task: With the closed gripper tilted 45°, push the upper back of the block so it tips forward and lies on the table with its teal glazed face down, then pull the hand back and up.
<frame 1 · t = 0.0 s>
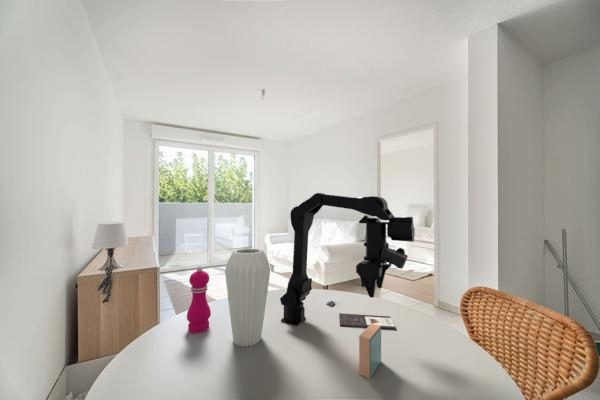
hand: (375, 292, 75), 15 cm above the table, tool pointing down, fingers open, 9 cm apart
chocolate bar: (365, 323, 88), on the table
block: (370, 367, 64), on the table
vase: (247, 340, 76), on the table
pepper mill: (198, 329, 83), on the table
blueberries: (332, 306, 103), on the table
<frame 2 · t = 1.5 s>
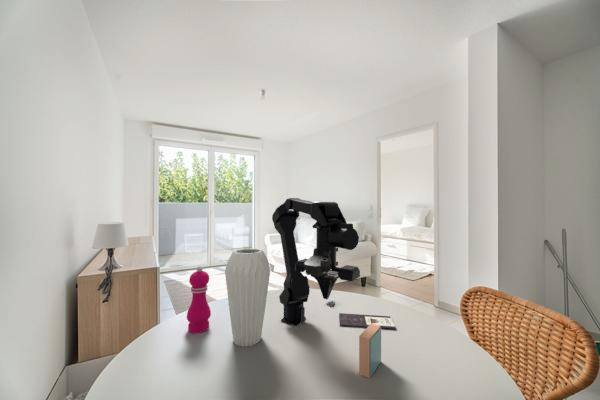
hand: (325, 298, 74), 13 cm above the table, tool pointing down, fingers closed
nothing on the table moved.
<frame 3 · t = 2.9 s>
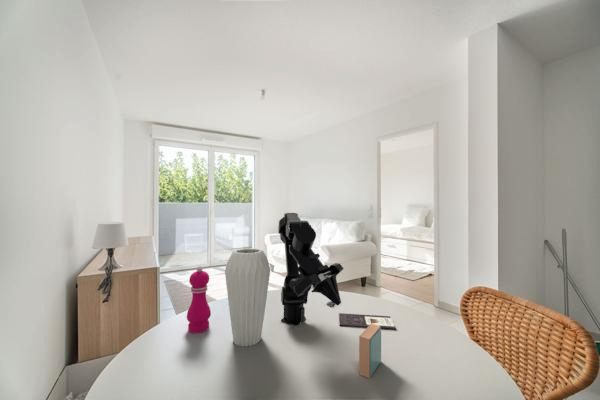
hand: (339, 304, 69), 14 cm above the table, tool tilted 45°, fingers closed
nothing on the table moved.
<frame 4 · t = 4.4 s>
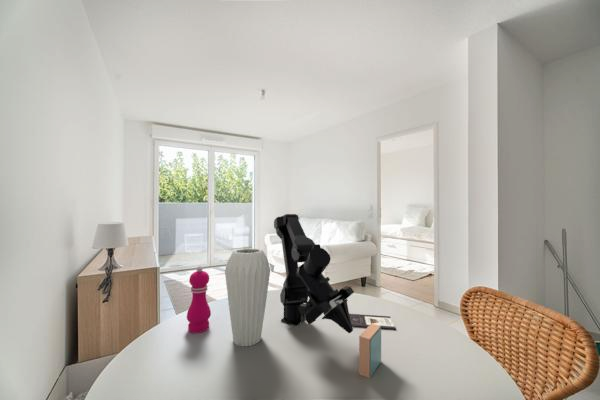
hand: (351, 332, 67), 7 cm above the table, tool tilted 45°, fingers closed
nothing on the table moved.
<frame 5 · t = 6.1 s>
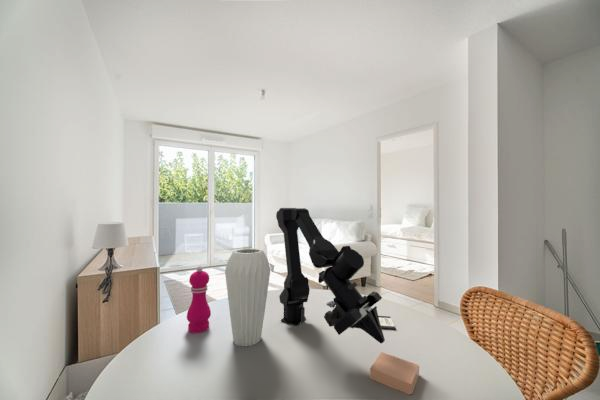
hand: (383, 342, 62), 7 cm above the table, tool tilted 45°, fingers closed
block: (376, 364, 63), point 1 cm above the table, tilted 90°
everything else where it was.
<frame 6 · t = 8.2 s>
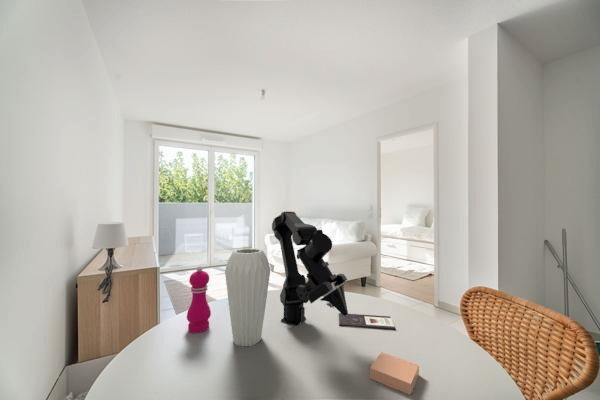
hand: (346, 314, 70), 10 cm above the table, tool tilted 40°, fingers closed
nothing on the table moved.
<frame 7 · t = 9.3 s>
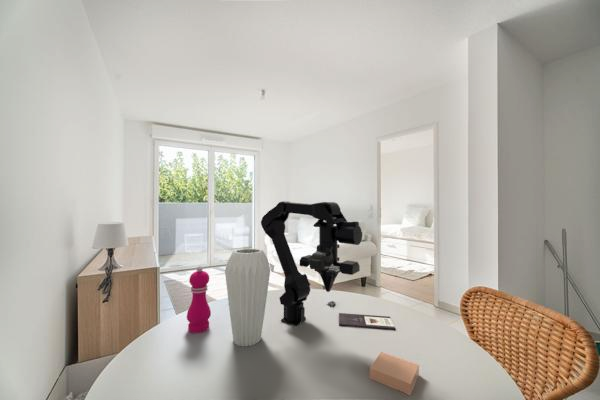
hand: (328, 291, 81), 13 cm above the table, tool pointing down, fingers closed
nothing on the table moved.
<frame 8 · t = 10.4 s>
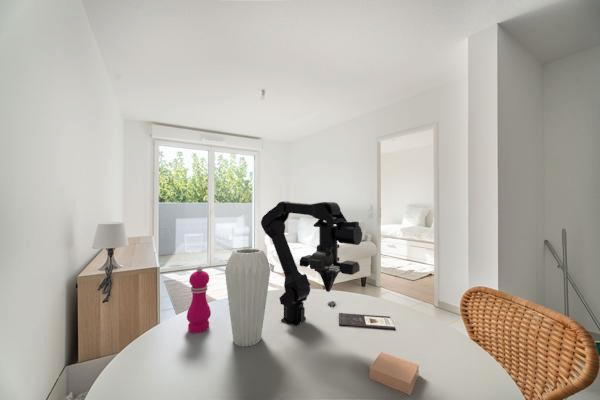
hand: (328, 291, 81), 13 cm above the table, tool pointing down, fingers closed
nothing on the table moved.
at the end: block tilted 90°; block inside the target area (0.7 cm from its centre), point 1.1 cm above the table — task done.
